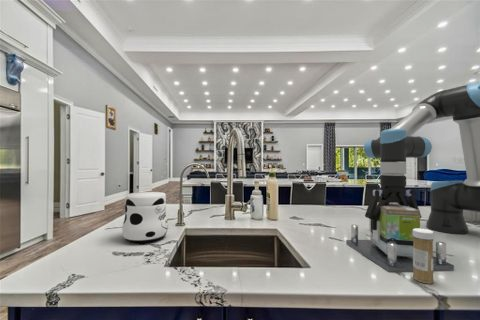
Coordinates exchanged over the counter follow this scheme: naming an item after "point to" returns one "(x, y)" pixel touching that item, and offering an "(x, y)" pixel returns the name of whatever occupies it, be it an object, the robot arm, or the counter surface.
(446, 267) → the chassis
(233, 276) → the counter surface
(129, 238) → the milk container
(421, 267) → the sprinkles bottle
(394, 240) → the tea box
